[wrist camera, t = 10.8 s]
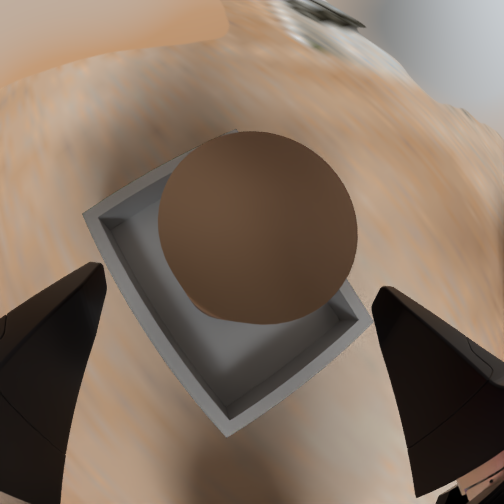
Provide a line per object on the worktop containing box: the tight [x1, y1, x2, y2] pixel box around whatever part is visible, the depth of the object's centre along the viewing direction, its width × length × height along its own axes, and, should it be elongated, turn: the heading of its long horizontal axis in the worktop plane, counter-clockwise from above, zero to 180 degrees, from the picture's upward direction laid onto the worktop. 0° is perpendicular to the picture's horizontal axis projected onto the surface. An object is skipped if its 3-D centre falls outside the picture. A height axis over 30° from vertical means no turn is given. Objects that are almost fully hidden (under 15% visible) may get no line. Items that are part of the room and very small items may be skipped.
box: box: [82, 129, 374, 438], centre depth 16 cm, size 11×15×4 cm
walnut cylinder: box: [158, 132, 358, 325], centre depth 12 cm, size 5×5×11 cm
